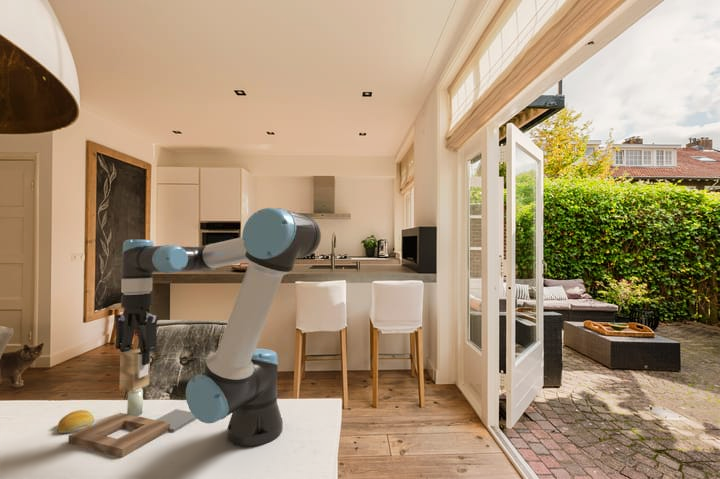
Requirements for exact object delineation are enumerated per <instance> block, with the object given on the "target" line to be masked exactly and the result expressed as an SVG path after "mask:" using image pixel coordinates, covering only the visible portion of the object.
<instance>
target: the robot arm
mask: <svg viewBox="0 0 720 479" xmlns="http://www.w3.org/2000/svg"><path fill="white" fill-rule="evenodd" d="M321 239H322V233H321V228H320V226H319V224H318V223H317V222H316V221H315V219H314V218H312V217H310V216H309V215H307V214H303V213H298V212H295V211H292V210H286V209H284V208H280V207H278V208H277V207H265V208H264V207H263V208H261V209H259V210H257V211H255V212H253V214H251V215H250V216H249V218H247V220H246V222H245V224H244V226H243V230H242V235H241V237H237V238H231V239H227V240H224V241H220V242H215V243H209V244H207V245H206V244H205V245H201V246H183V245H182V246H181V245H176V244H175V245H174V244H172V245H171V244H165V245H154V241H153V240H151V239H126V240H124V241H123V244H122V251H121V285H120V286H121V289H120V292H121V293H122V295H120V298H121V299H120V307H121V308H122V309H123V312H122V313H119V314H115V316H114V319H115V322H116V323H115V325H116V326H115V327H116V329H115V350H119V351H120V353H122V352H126V351H130V350H133V349H134V347H133V342H134V337H135V333H136V334H137V339H138V340H137V341H138V344H139V345H138V346H139V349H140V352H139V353H138V373H137V378H141V377H143V376H146V375H148V364H149V362H150V363H151V361H150V360H151V352H152V351H155V350H156V349H157V329H158V326H157V324H158V320H159V315H158V314H152V313H151V311H150V307H151V306H152V305H153V293H151V292H152V291H153V281H154V280H153V278H154V275H153V274H154V273H164V274H170V273H171V274H173V273H181V272H207V271H212V270H215V269H216V268H221V267H222V268H223V267H227V266H232V265H238V264H243V263H247V264H248V265H247V268H246V271H245V273H244V276H243V279H242V282H241V285H240V287H239V289H238V293H237V296H236V299H235V301H234V304H233V306H232V309H231V312H230V315H229V317H228V320H227V323H226V326H225V328H224V332H223V333H222V336H221V340H220V341H219V345H218V347H217V351H215V352H213V353H211V354H210V355H209V356H208V357H207V359H206V361H205V364H204V367H203V369H202V372H201V373H200V374H196V375H195V376H193V377H192V378H191V379H190V380H189V381H188V382H187V385H186V388H185V401H186V404H187V406H188V409H189V412H192V414H193V415H194V416H195V417H196V418H197V419H196V420H198V421H199V422H201V423H204V424H215V423H216V422H219V421H220V420H223V419H226V418H227V416H229V415H230V416H231V417H230V419H229V423H228V426H227V430H226V431H227V432H226V434H227V435H226V438H227V441H228V442H230V443H231V444H233V445H236V446H240V447H253V446H254V447H255V446H260V445H265V444H267V443H270V442H272V441H274V440H275V439H276V438H278V437H279V436H280V435H281V434H282V432H283V424H284V421H283V417H282V414H281V411H280V407H279V405H278V369H279V368H278V367H279V363H278V354H277V352H276V351H274V349H273V350H272V349H267V348H257V347H258V344H259V341H260V338H261V336H262V333H263V330H264V328H265V325H266V323H267V320H268V318H269V314H270V312H271V309H272V306H273V304H274V302H275V299H276V295H277V293H278V291H279V288H280V285H281V283H282V280H283V277H284V276H286V275H287V274H290V273H292V271H293V268H294V266H295V264H296V261H297V259H301V258H302V259H303V258H305V257H308V256H311V255H312V254H314V252H316V250H317V249H318V248H319V246H320V243H321Z"/></svg>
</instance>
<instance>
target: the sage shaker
mask: <svg viewBox="0 0 720 479" xmlns="http://www.w3.org/2000/svg"><path fill="white" fill-rule="evenodd" d="M143 398H144V390H143V387H142V388H140V389H137V390H135V391H128V392H127V405H126V408H127V409H126V414H129V415H134V416H139V417H140V415H142V414H143Z"/></svg>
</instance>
